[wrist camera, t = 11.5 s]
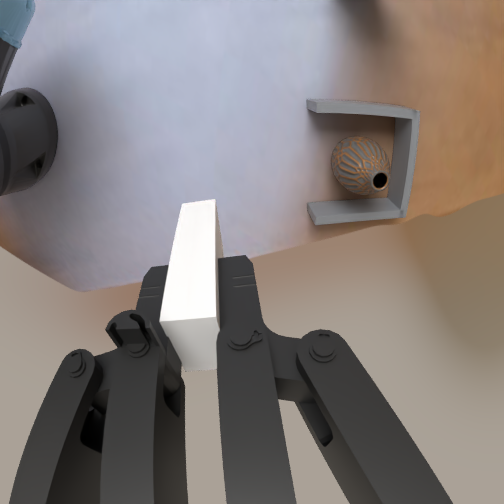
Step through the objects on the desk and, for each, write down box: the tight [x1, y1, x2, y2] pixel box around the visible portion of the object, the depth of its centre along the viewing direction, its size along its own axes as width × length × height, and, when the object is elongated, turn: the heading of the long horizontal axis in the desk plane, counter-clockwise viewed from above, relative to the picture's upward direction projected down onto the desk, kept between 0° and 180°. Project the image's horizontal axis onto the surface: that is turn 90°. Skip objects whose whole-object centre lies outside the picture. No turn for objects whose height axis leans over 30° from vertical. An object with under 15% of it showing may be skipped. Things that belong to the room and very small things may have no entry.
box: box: [307, 99, 420, 225], centre depth 31 cm, size 14×15×4 cm
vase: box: [331, 136, 390, 195], centre depth 29 cm, size 7×7×9 cm
